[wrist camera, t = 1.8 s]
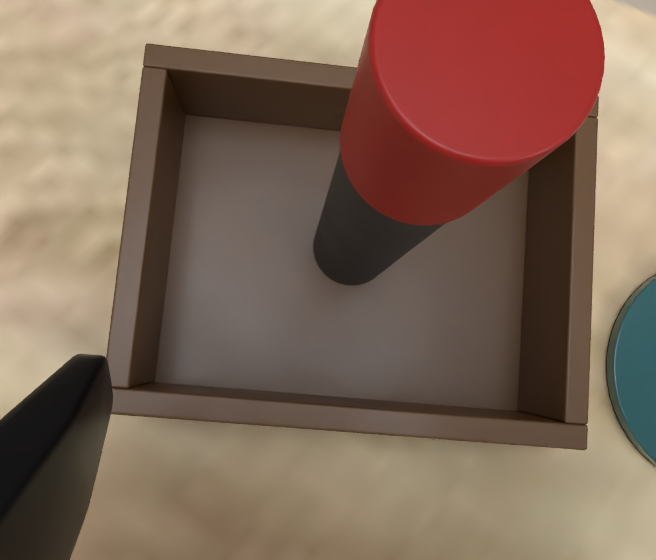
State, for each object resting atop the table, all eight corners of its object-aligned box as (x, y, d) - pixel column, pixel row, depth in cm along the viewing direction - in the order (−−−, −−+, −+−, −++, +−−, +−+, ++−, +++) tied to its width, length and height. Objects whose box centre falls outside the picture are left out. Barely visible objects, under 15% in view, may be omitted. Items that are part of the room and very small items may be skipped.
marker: (403, 272, 21) (643, 122, 7) (326, 299, 21) (417, 197, 7) (376, 196, 21) (556, -96, 7) (298, 221, 21) (335, -32, 7)
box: (531, 432, 21) (588, 450, 17) (133, 401, 20) (98, 413, 16) (544, 139, 22) (599, 94, 18) (169, 97, 21) (145, 42, 18)
